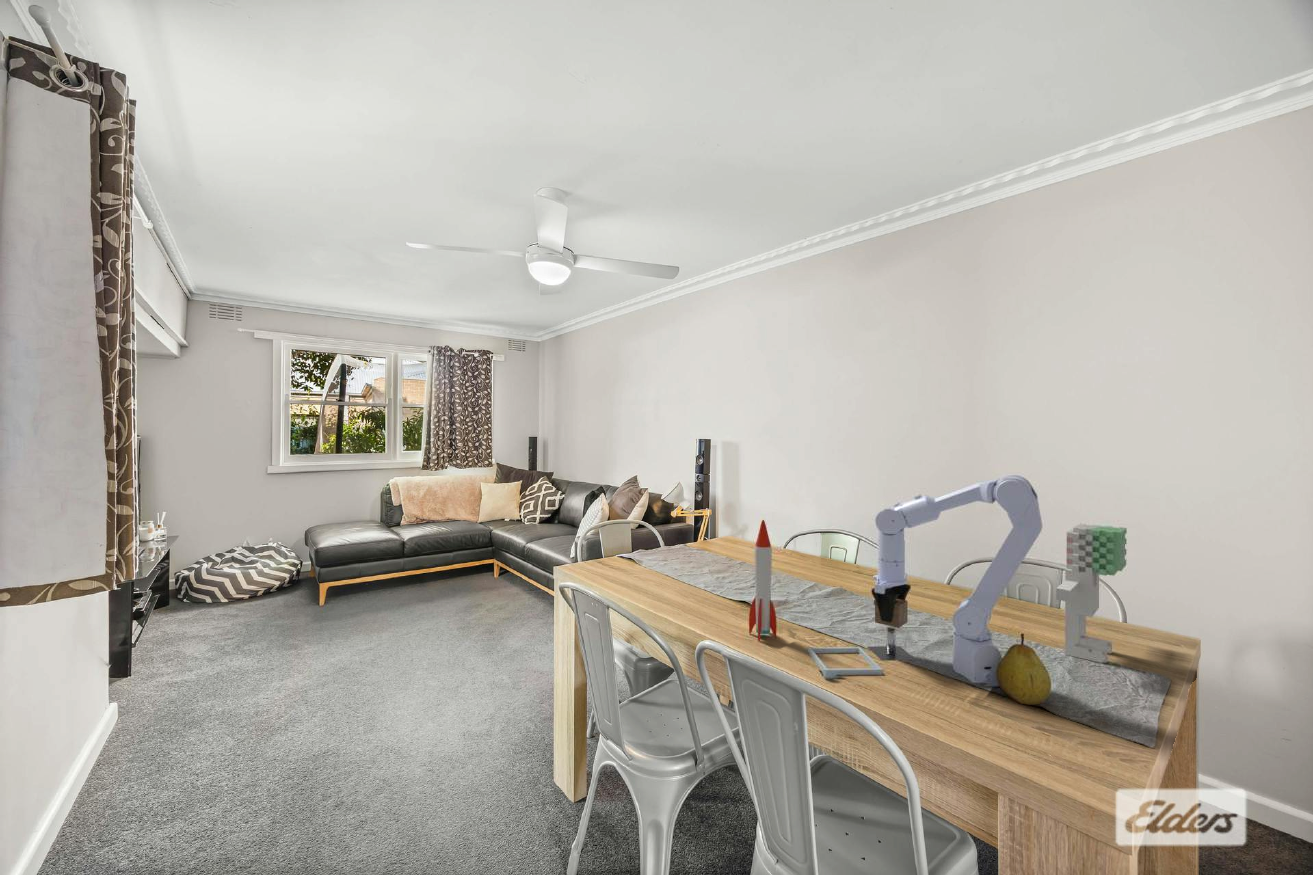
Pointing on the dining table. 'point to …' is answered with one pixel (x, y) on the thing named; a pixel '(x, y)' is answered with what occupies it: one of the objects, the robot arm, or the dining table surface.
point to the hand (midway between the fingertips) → (891, 617)
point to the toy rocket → (763, 587)
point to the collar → (894, 614)
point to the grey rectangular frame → (833, 672)
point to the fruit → (1023, 675)
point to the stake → (891, 648)
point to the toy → (1088, 584)
